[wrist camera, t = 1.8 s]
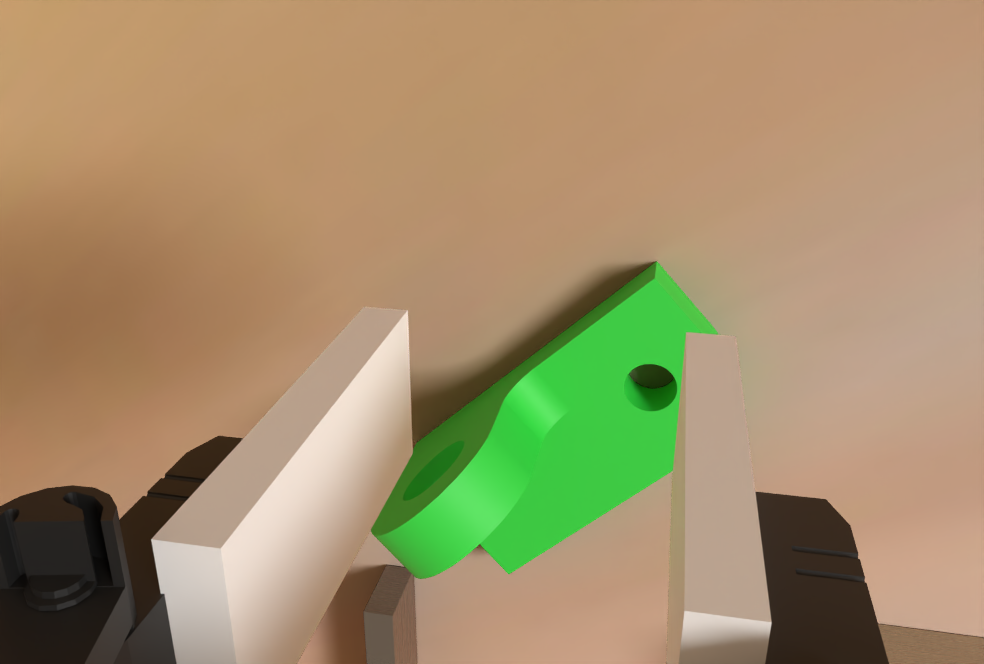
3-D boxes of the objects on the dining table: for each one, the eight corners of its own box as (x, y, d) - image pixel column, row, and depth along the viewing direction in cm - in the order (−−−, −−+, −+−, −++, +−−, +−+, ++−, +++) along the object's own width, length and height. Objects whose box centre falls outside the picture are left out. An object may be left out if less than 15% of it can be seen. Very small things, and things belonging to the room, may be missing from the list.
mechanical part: (517, 543, 37) (474, 688, 29) (418, 439, 36) (349, 562, 29) (764, 384, 32) (785, 510, 25) (657, 259, 31) (646, 352, 24)
